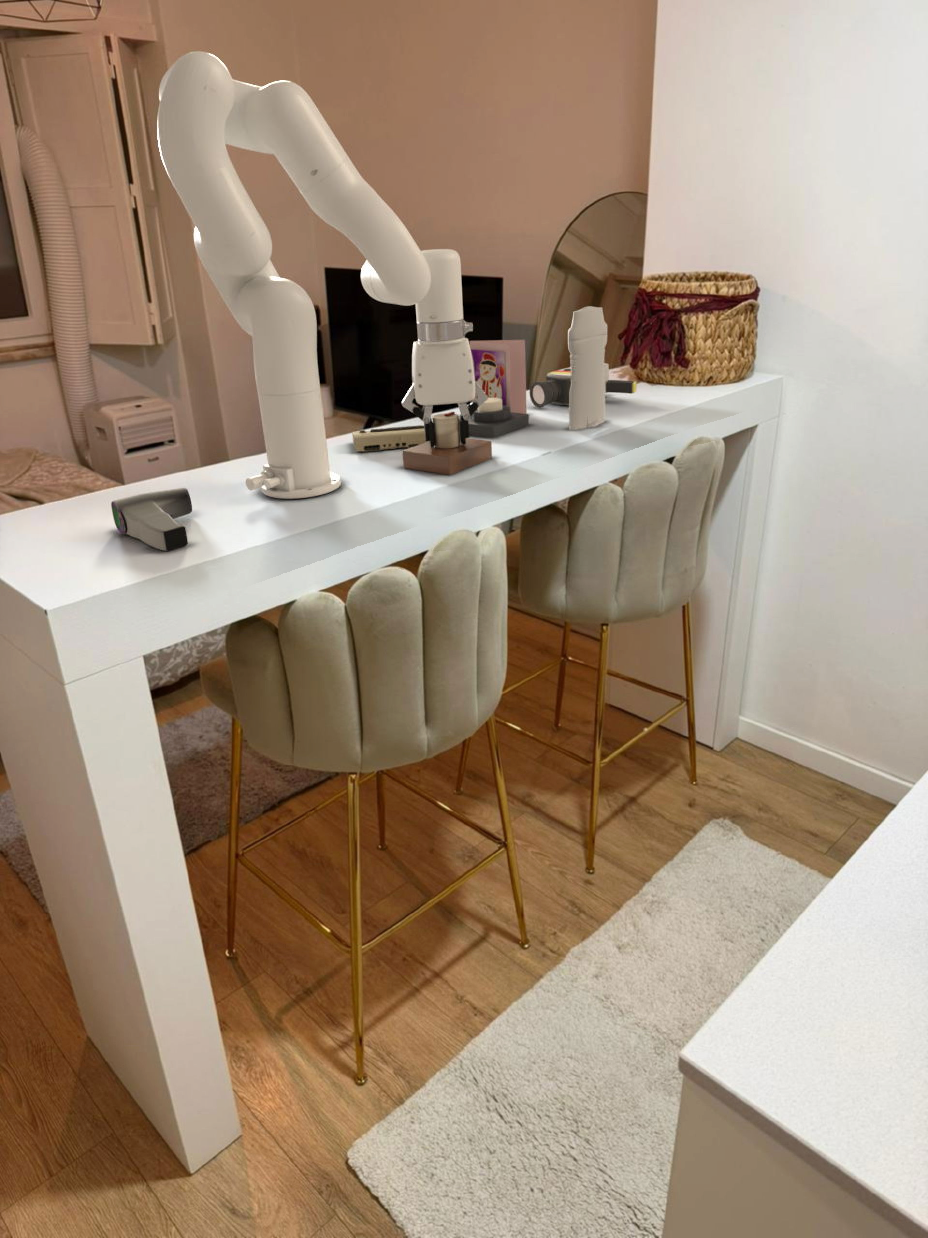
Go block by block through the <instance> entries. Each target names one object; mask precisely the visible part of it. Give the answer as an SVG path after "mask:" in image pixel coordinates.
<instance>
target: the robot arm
mask: <svg viewBox="0 0 928 1238" xmlns="http://www.w3.org/2000/svg"><path fill="white" fill-rule="evenodd" d="M158 99H159V105H158V112H157V124H156V126H157V130H156V131H157V140H158V142H157V143H158V148H159V152H160V153H159V154H160V157H161V160H162V164H163V166H164V168H165V172H166V174H167V176H168V178H169V180H170V182H171V184H172V186H173V188H174V189H175V191H176V193H177V195H178V197H179V198H180V200H181V203H182V204H183V206H184V208H185V210H186V212H187V214H188V216H189V217H190V219H191V220H192V223H193V225H194V231H193V242H194V247H195V251H196V253H197V256H198V258H199V260H200V262H201V264H202V266H203V268H204V270H205V272H206V273H207V275H208V277H209V278H210V280H211V281H212V283H213V285H214V287H215V288H216V290H217V292H218V293H219V295H220V297H221V298H222V300H223V302H224V303H225V305H226V307H227V308H228V310H229V311H230V314H231V315H232V316H233V318H234V319H235V322H236V323H237V324H238V326H239V327H240V328H241V329H242V330H243V331H244V332H245V333H247V334H248V335H249V336H251V337H252V338H251V339H252V348H253V349H252V354H253V355H252V356H253V369H254V377H255V385H256V392H257V397H258V402H259V403H258V404H259V410H260V418H261V425H262V431H263V439H264V447H265V452H266V460H267V464H264V465H262V468H263V471H261V472H260V473H259V475H258V474H257V475H254V476H250V477H247V478H246V479H245V486H246V488H247V489H248V490H249V491H253V490H257V489H259V488H261V492H262V493H263V494H264V495H266V496H268V497H270V498H274V499H275V498H276V499H290V500H291V499H293V500H294V499H305V498H306V499H307V498H312V497H313V498H314V497H317V496H322V495H325V494H329V493H331V492H333V491H335V490H337V489H338V488H340V487H341V485H342V479H341V476H340V475H339V474H338V473H335V472H333V471H331V468H330V460H329V452H328V444H327V435H326V433H327V432H326V426H325V418H324V408H323V407H324V406H323V399H322V392H321V391H322V390H321V383H320V375H319V374H320V373H319V364H318V350H317V349H318V333H317V332H318V323H317V322H318V321H317V313H316V310H315V309H316V308H315V306H314V303H313V300H312V298H311V297H310V296H309V294H308V293H307V291H306V290H305V289H304V288H303V287H302V286H301V285H299V284H298V283H296V282H295V281H294V280H292V279H288V278H285V277H281V276H280V275H279V272H277V270H276V268H275V266H274V264H273V262H272V260H271V257H272V254H273V241H272V237H271V233H270V231H269V229H268V227H267V225H266V223H265V221H264V220H263V218H262V216H261V214H260V213H259V211H258V210H257V208H256V207H255V203H253V200H252V199H251V197H250V194H248V192H247V190H246V188H245V186H244V185H243V183H242V181H241V179H240V177H239V175H238V172H237V171H236V169H235V167H234V164H233V162H232V160H231V157H230V155H229V152H228V149H227V146H226V145H228V146H231V147H234V148H235V147H236V148H239V149H244V150H247V151H251V152H252V151H253V152H257V153H261V154H265V155H274V156H275V158H276V159H277V161H278V162H279V164H280V165H281V166H282V168H283V169H284V170H285V172H286V174H287V175H288V177H289V178H290V179H291V181H292V182H293V183H294V185H295V187H296V188H297V190H298V191H299V192H300V194H301V196H302V197H303V198H304V200H305V201H306V203H307V204H308V206H309V207H310V209H311V210H312V211H313V212H314V214H316V215H317V216H318V217H319V218H320V219H321V220H322V221H323V222H325V223H326V224H327V225H329V226H330V227H332V228H334V229H335V230H337V231H338V232H340V233H341V234H342V235H343V236H345V237H346V238H347V239H348V240H349V241H350V242H351V243H352V244H353V245H354V246H355V247H356V248H357V249H358V250H359V252H360V253H361V254H362V255H363V257H364V258H365V259H366V260H365V261H364V263H363V265H362V268H361V271H360V282H361V285H362V287H363V289H364V291H365V292H366V294H368V296H369V297H371V298H372V299H374V300H376V301H378V302H381V303H385V304H392V305H399V306H405V307H406V306H407V307H408V306H409V307H410V306H413V305H415V315H416V329H417V331H416V332H417V340H416V341H413V344H412V353H411V380H412V383H411V384H412V385H410V388H409V389H408V390H407V393H406V394H405V396H404V397H403V399H402V401H401V405H402V407H403V408H404V409H406V410H408V411H409V412H411V413H413V415H414V416H416V417H417V418H419V420H421V422H423V425H424V431H425V441H429V444H430V446H431V447H434V446H435V438H434V424H433V418H432V415H433V414H432V413H433V409H434V408H433V407H434V406H441V405H451V404H452V405H453V404H457V406H458V409H459V413H460V414H459V431H460V442H461V444H466V438H470V435H469V424H468V420H469V419H470V417H471V416H472V414H473V413H474V412H475V411H476V410H477V409H478V407H479V406H481V405H482V404H483V403H484V402H485V401H486V400H487V399H488V396H487V395H486V394H485V392H484V391H483V390H482V389H481V388H480V386H479V385H478V384H477V383H476V381H475V378H474V369H473V361H472V355H471V349H470V340H469V338H467V337H466V335H467V333H469V332H473V330H474V325H473V322H468V321H466V320H465V319H464V306H463V286H462V285H463V284H462V263H461V257H460V254H459V252H458V251H456V250H454V249H453V248H452V249H451V248H439V249H424V250H421V249H420V247H419V246H418V244H417V243H416V241H415V240H414V238H413V236H412V235H411V233H410V231H409V230H408V229H407V227H406V226H405V224H404V223H403V222H402V220H401V219H400V218H399V216H398V215H397V214H396V212H394V210H393V209H392V208H391V207H390V206H389V205H388V204H387V203H386V202H385V200H384V199H382V197H380V195H379V194H378V193H377V191H376V190H375V189H374V188H373V187H372V186H371V185H370V184H369V183H368V182H367V181H366V180H365V179H364V178H363V176H362V175H361V174H360V172H359V171H358V169H357V168H356V166H355V165H354V163H353V162H352V160H351V159H350V157H349V155H348V154H347V152H346V151H345V149H344V147H343V146H342V145H341V143H340V141H339V140H338V138H337V137H336V135H335V133H334V132H333V130H332V129H331V127H330V125H328V123H327V121H326V119H325V118H324V116H323V115H322V113H321V112H320V110H319V108H318V107H317V106H316V104H315V102H314V101H313V99H312V98H311V96H310V95H309V94H308V93H307V91H306V90H304V88H302V86H300V85H299V84H297V83H296V82H293V81H291V80H278V81H273V82H271V83H268V84H266V85H264V86H259V85H254V84H251V83H247V82H243V81H239V80H236V79H233V77H232V75H231V73H230V71H229V69H228V68H227V66H226V65H225V64H224V63H223V62H222V61H221V60H220V59H219V58H218V57H217V56H215V55H214V54H212V53H210V52H206V51H202V50H201V51H200V50H199V51H195V50H194V51H191V52H187V53H186V54H184V55H182V56H180V57H179V58H177V60H175V62H173V63H172V65H171V66H170V67H169V69H168V70H166V72H165V73H164V74H163V76H162V78H161V81H160V84H159V89H158ZM475 393H476V395H477V397H476V398H475ZM474 398H475V400H473V399H474ZM414 399H415V402H416V403H417V404H418V405H421V406H422V408H420V406H418V405H416V404H415V403H414V402H413V401H414ZM472 400H473V401H472ZM469 402H470V403H469ZM467 403H469V404H467Z"/></svg>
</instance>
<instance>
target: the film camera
mask: <svg viewBox="0 0 928 1238" xmlns="http://www.w3.org/2000/svg"><path fill="white" fill-rule="evenodd" d="M609 365H610V364H609V363H606V362H604V381H605V395H606V394H608V393H614V394H615V393H616V394H630V395H631V394H635V393H636V392H637V389H638V388H637V381H636V380H635V381H634V380H624V379H623V380H622V379H621V380H619V379H610V369H609V367H610V366H609ZM545 380H546V381H533V382H532V383H531V385H530V386H529V398H530V401H531V403H532V405H534V406H535V407H536V408H538V409H542V408H544V407H545V406H547V405H549V404H554V405H559V406H569V391H570V386H571V381H570V380H571V367H570V366H569V367H565V368H560V369H558V370H554V371H551V372H548V373H547V374H546V379H545Z"/></svg>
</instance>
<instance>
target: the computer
mask: <svg viewBox="0 0 928 1238" xmlns="http://www.w3.org/2000/svg"><path fill="white" fill-rule="evenodd" d="M351 435H352V443H353V447H354V452H373V451H381V450H394V449H398V448H406V449H409V448H411V447H414V446H417V445H420V444H423V443H426V442H429V441H425V431H424V424H420V425H407V426H396V427H395V426H393V427H392V426H391V427H385V428H383V427H381V428H372V429H370V430H365V429H360V430H359V431H352V434H351Z"/></svg>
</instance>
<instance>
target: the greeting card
mask: <svg viewBox="0 0 928 1238" xmlns="http://www.w3.org/2000/svg"><path fill="white" fill-rule="evenodd" d="M469 345H470V349H471V355H472V361H473V369H474V378H475V381H476V383H477V384H478V385H479V386H480V388H481V389H482V390H483V391H484V392H485V394H486V395H487V396H488V398H500V399H502V405H506V406H508V407H510V412H512V413H522V414H528V412H527V369H526V368H527V367H526V366H527V365H526V363H527V362H526V339H498V340H497V339H496V340H469ZM476 397H477V395H476V393H475V398H476ZM475 398H474V399H473V400H475ZM473 400H471V402H472V401H473Z"/></svg>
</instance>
